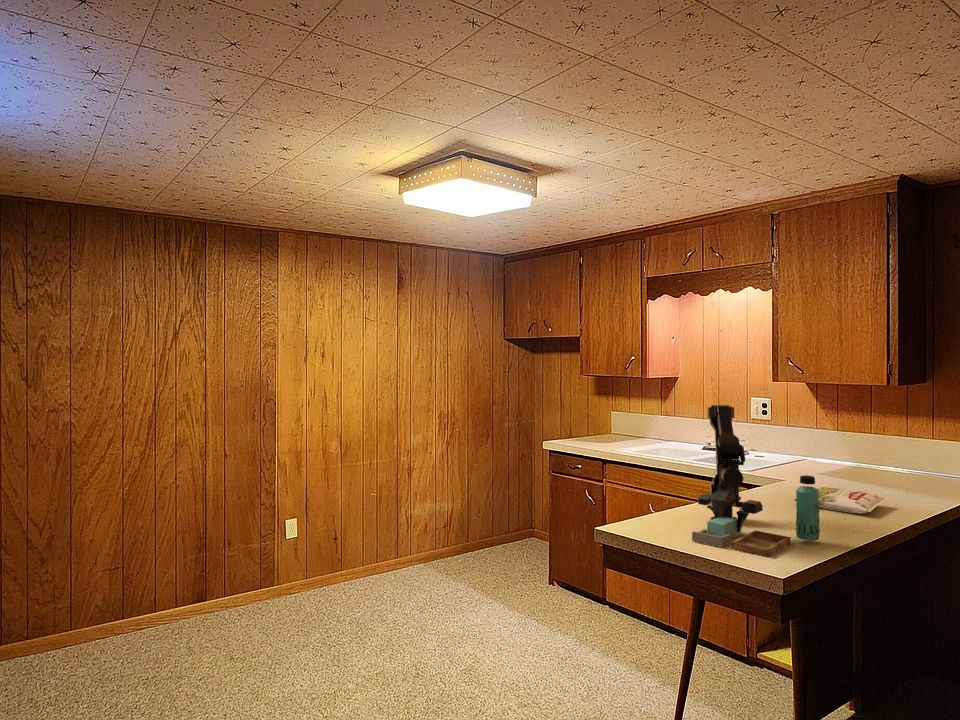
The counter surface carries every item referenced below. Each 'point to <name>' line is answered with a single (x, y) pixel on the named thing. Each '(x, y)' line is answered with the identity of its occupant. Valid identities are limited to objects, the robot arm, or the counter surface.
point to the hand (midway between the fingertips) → (729, 530)
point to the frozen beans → (847, 500)
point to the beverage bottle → (807, 510)
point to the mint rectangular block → (722, 526)
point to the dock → (710, 538)
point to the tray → (761, 543)
